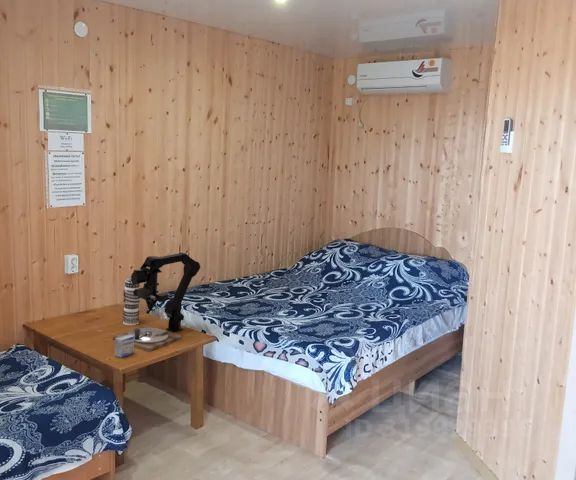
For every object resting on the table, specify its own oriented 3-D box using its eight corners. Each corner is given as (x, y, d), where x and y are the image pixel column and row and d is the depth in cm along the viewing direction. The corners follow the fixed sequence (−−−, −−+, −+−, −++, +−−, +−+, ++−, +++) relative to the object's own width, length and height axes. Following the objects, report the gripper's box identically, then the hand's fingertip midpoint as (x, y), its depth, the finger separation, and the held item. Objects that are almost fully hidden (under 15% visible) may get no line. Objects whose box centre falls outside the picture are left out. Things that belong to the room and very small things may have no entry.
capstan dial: (145, 326, 302) (145, 316, 301) (176, 335, 294) (176, 324, 293) (119, 337, 285) (119, 325, 284) (151, 346, 276) (151, 334, 275)
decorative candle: (143, 322, 313) (145, 278, 309) (130, 326, 305) (132, 281, 301) (131, 318, 318) (133, 275, 313) (118, 322, 310) (120, 278, 306)
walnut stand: (147, 327, 306) (147, 323, 305) (181, 338, 294) (182, 334, 294) (113, 339, 285) (113, 334, 285) (148, 351, 274) (149, 346, 273)
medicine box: (120, 358, 263) (121, 340, 262) (114, 355, 266) (114, 337, 264) (133, 353, 270) (134, 336, 269) (127, 351, 272) (127, 333, 271)
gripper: (126, 280, 288) (125, 310, 291) (155, 288, 280) (153, 318, 282) (141, 276, 298) (140, 305, 300) (169, 283, 289) (168, 313, 292)
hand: (150, 310), depth 294 cm, fingers closed
